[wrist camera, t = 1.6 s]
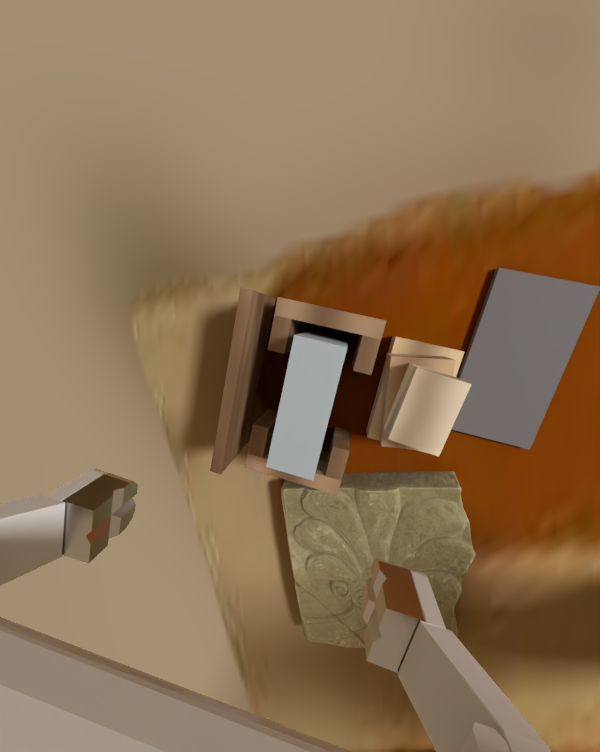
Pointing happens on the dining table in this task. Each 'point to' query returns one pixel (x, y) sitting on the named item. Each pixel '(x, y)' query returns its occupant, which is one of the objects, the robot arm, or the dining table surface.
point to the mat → (520, 353)
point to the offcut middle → (393, 380)
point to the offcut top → (425, 409)
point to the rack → (247, 372)
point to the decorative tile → (373, 545)
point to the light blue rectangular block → (306, 403)
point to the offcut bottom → (412, 348)
